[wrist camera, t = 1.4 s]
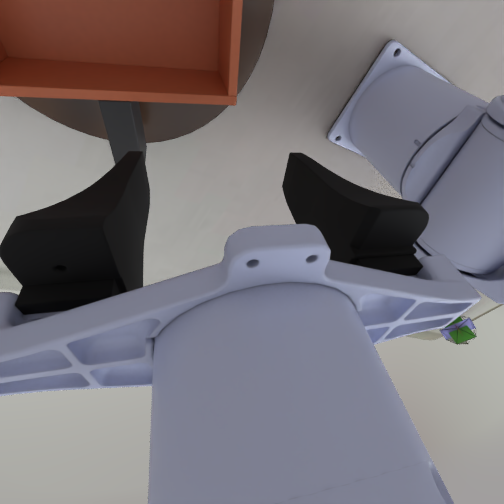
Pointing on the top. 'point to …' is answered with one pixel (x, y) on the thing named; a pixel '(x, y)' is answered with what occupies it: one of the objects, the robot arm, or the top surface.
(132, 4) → the bin
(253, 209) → the top surface
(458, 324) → the geometric puzzle
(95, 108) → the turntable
